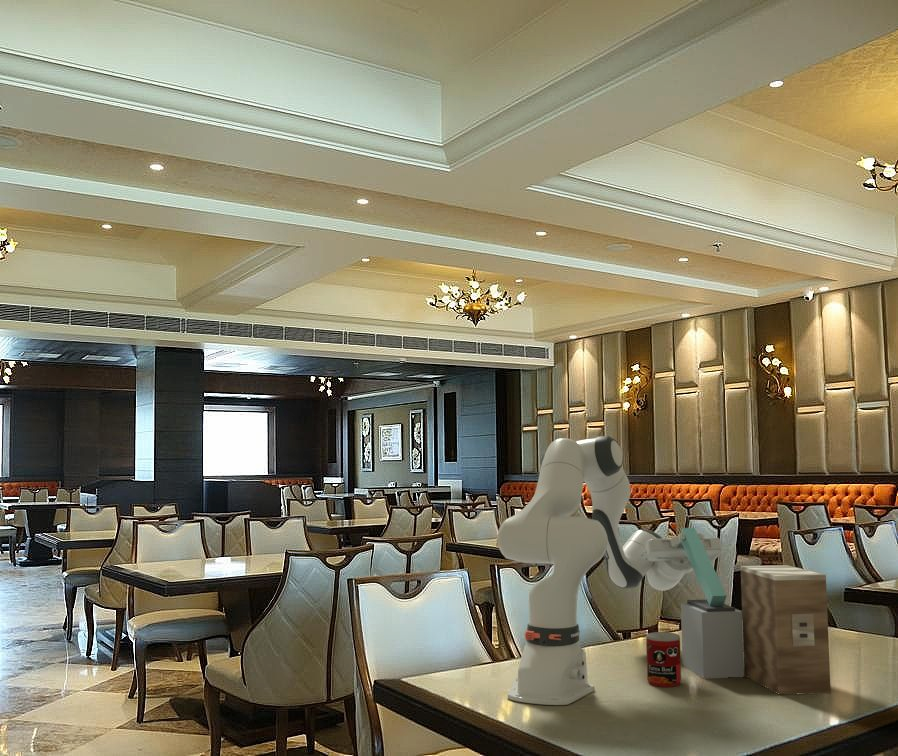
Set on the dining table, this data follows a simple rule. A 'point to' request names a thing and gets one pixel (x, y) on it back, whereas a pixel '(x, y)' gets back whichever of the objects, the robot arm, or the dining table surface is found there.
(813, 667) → the stand
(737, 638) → the phone dock
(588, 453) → the robot arm
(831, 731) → the dining table surface
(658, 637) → the canned food
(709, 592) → the long teal bar
